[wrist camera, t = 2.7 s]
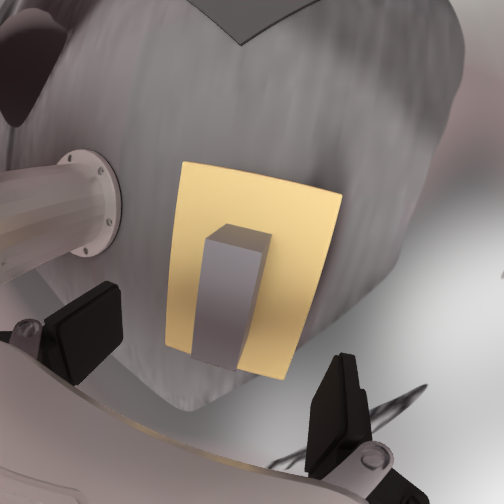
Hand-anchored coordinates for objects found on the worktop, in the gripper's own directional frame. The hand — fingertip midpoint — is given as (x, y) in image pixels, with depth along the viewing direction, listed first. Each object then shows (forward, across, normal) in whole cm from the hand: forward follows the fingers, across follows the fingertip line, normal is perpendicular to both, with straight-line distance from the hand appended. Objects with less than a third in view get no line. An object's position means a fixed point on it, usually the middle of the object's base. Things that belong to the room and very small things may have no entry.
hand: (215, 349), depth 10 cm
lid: (+7, +1, 0) cm, 7 cm away
